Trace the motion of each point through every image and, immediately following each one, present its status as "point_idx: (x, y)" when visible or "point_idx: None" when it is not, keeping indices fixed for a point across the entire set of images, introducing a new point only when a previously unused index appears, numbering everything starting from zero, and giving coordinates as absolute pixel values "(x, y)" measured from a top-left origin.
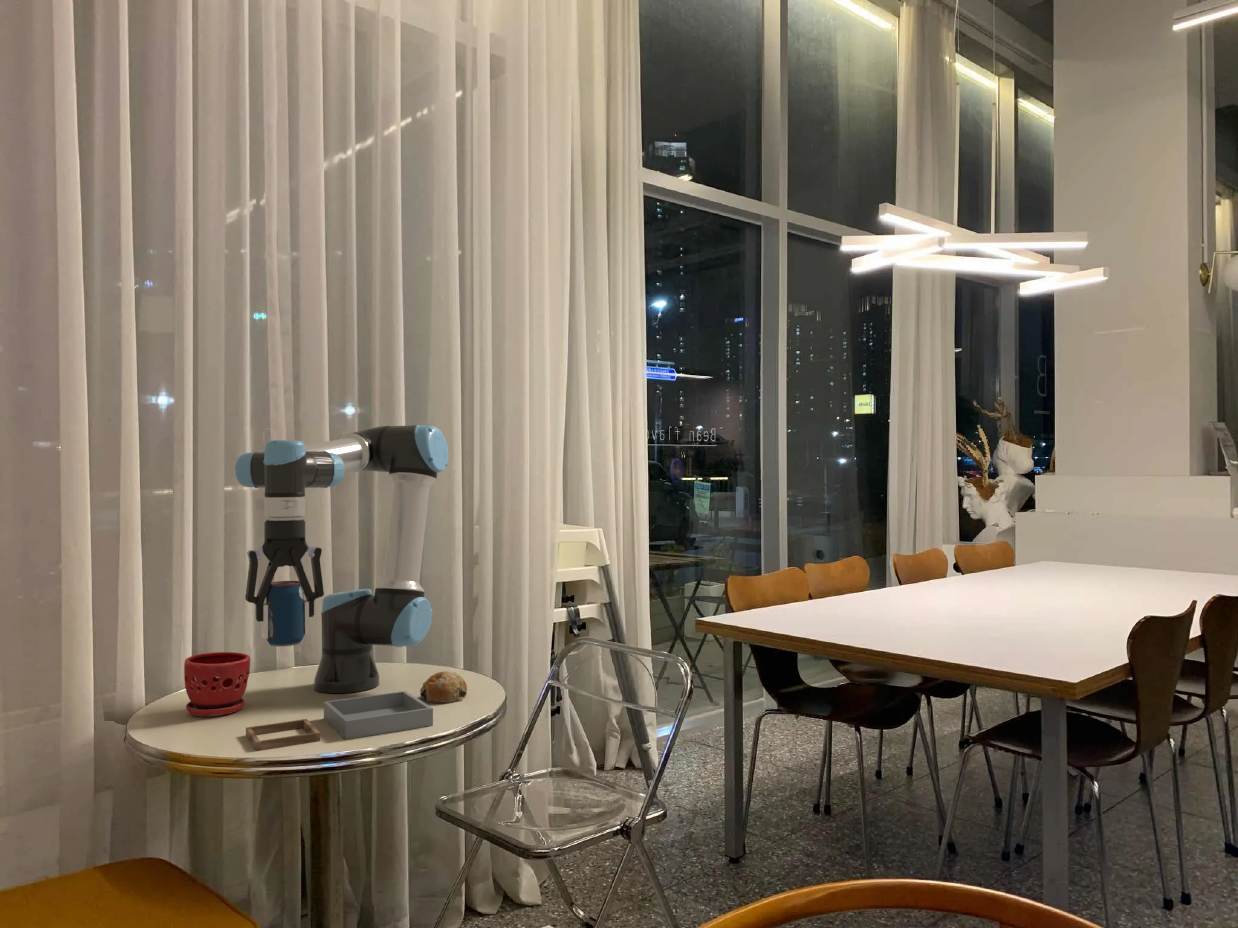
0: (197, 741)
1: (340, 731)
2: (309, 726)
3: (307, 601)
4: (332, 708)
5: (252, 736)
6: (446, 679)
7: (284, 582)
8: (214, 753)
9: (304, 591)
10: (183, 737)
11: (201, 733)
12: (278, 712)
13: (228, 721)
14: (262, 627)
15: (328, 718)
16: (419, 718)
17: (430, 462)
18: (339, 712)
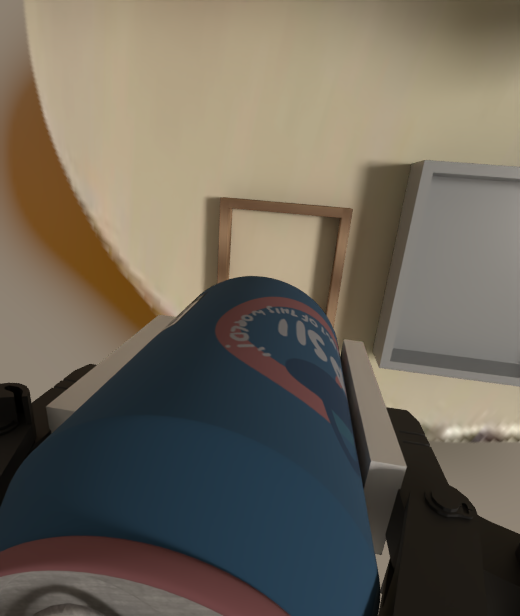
0: (136, 181)
1: (381, 315)
2: (333, 276)
3: (380, 534)
4: (408, 246)
5: (218, 275)
6: None
7: (167, 569)
8: (156, 283)
9: (385, 605)
10: (114, 128)
11: (148, 118)
12: (345, 12)
13: (214, 34)
14: None
15: (404, 212)
16: None
17: None
18: (402, 293)
